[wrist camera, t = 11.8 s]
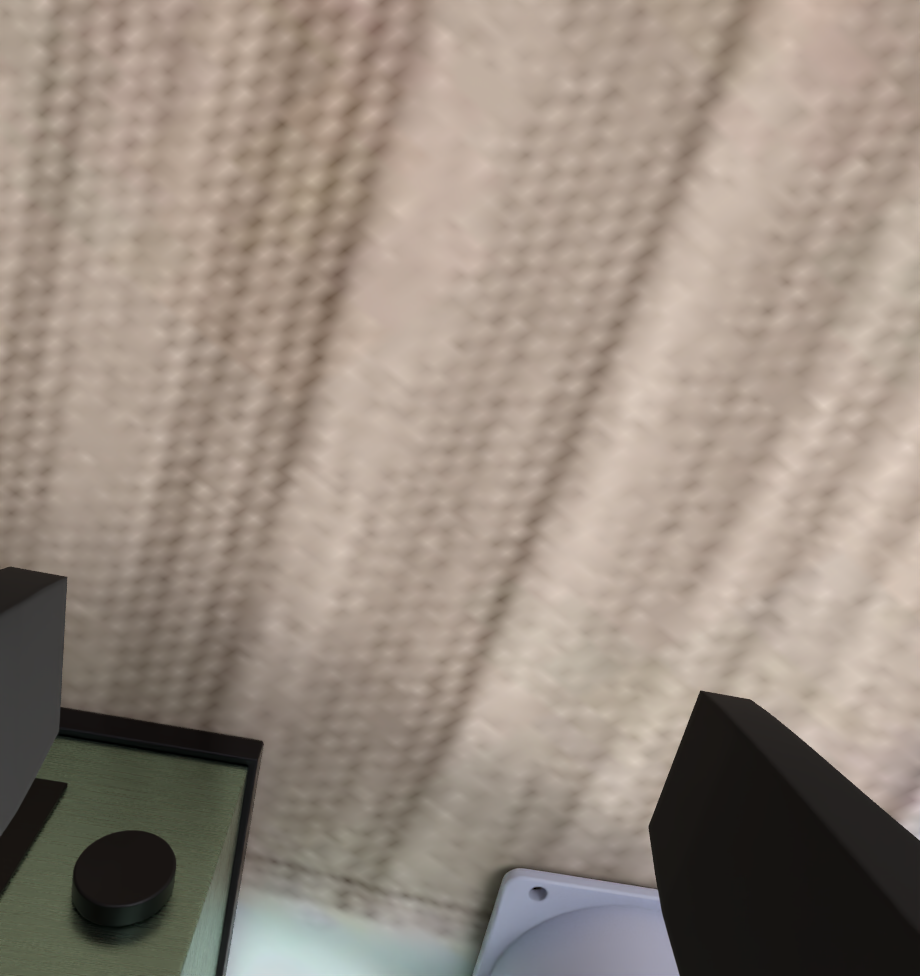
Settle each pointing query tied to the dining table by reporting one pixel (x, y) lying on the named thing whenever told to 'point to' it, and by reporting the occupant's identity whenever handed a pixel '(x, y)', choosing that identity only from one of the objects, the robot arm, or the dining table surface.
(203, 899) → the toaster
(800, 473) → the dining table surface
